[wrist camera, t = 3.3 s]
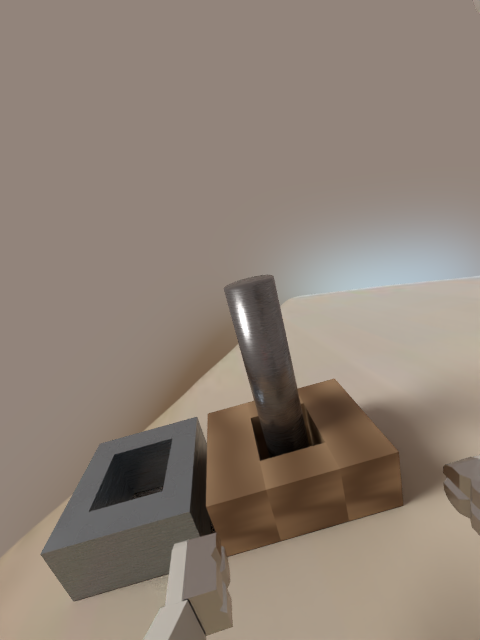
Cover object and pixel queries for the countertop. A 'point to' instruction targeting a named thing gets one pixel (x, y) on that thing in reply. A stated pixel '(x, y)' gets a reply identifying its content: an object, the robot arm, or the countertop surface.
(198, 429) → the socket block
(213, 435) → the wooden square hole block
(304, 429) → the steel axle
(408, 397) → the countertop surface
